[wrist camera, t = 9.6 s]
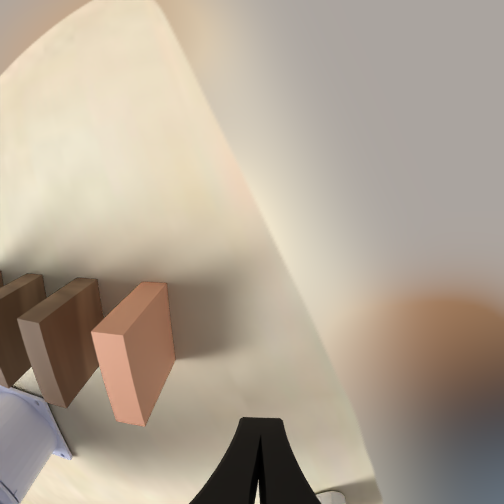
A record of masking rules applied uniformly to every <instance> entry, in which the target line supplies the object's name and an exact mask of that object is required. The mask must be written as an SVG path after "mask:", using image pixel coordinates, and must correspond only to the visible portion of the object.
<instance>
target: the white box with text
mask: <svg viewBox="0 0 504 504" xmlns="http://www.w3.org/2000/svg"><path fill="white" fill-rule="evenodd" d="M316 496H317V498H318V499H319V501H320V502H321V504H346V501H345V497H344V495H343V494H341V493H339V492H336V491H330V492H324V493H320V494H316Z"/></svg>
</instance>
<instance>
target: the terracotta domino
mask: <svg viewBox="0 0 504 504" xmlns="http://www.w3.org/2000/svg"><path fill="white" fill-rule="evenodd" d="M91 334H92V338H93V343H94V347H95V351H96V355H97V359H98V362H99V366H100V370H101V373H102V377H103V380H104V384H105V387H106V390H107V394H108V397H109V400H110V403H111V406H112V409H113V412H114V415H115V418H116V421H118V422H123V423H128V424H133V425H139V426H146V423H147V421H148V419H149V417H150V415H151V412H152V410H153V408H154V406H155V403H156V401H157V399H158V397H159V395H160V393H161V390H162V388H163V386H164V384H165V382H166V379H167V377H168V375H169V373H170V371H171V369H172V366H173V364H174V362H175V360H176V359H175V352H174V344H173V336H172V328H171V320H170V311H169V301H168V291H167V283H156V282H141V283H140V284H139V285H138V286H137V287H136V288H135V289H134V290H133V291H132V292H131V293H130V294H129V295H128V296H126V297H125V298H124V299H123V300H122V301H121V302H120V303H119V304H118V305H117V306H116V307H115V308H114V309H113V310H112V311H111V312H110V313H109V314H108V315H107V316H106V317H105V318H104V319H103V320H102V321H101V322H100V323H99V324H98V325H97V326H96V327H95V328H94V329H93V330H92V331H91Z"/></svg>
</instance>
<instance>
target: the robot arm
mask: <svg viewBox="0 0 504 504" xmlns="http://www.w3.org/2000/svg"><path fill="white" fill-rule="evenodd" d="M51 454H55V455H57V456H60V457H63V458H65V459H68V460H71V459H72V454H71V453H70V451H69V449H68V447H67V445H66V443H65V441H64V439H63V437H62V435H61V433H60V431H59V428H58V426H57V424H56V422H55V420H54V418H53V415H52V413H51V411H50V409H49V406H48V404H47V402H45V400H44V399H43V398H40V397H37V396H34V395H31V394H28V393H26V392H23V391H20V390H17V389H15V388H12V387H10V388H9V389H8V388H6V387H3V386H1V385H0V504H20V503H21V501H22V500H23V498H24V497H25V495H26V493H27V492H28V490H29V489H30V487H31V485H32V484H33V482H34V481H35V479H36V478H37V476H38V474H39V473H40V471H41V470H42V468H43V467H44V465H45V464H46V462H47V461H48V459H49V457H50V456H51ZM258 479H259V495H260V504H321V502H320V501H319V499H318V498H317V496H316V495H315V493H314V492H313V490H312V489H311V487H310V485H309V484H308V482H307V480H306V478H305V477H304V475H303V473H302V471H301V469H300V467H299V465H298V463H297V461H296V458H295V456H294V454H293V452H292V449H291V447H290V444H289V441H288V439H287V436H286V432H285V429H284V424H283V420H281V419H280V418H252V417H243V418H241V419H240V420H239V424H238V427H237V430H236V432H235V435H234V437H233V439H232V441H231V443H230V446H229V448H228V449H227V451H226V453H225V455H224V456H223V458H222V460H221V462H220V463H219V465H218V467H217V468H216V470H215V471H214V472H213V474H212V475H211V477H210V478H209V480H208V481H207V483H206V484H205V485H204V487H203V488H202V489H201V490H200V492H199V493H198V494H197V495H196V496H195V498H194V499H193V500H192V501H191V502H190V503H189V504H254V503H255V497H256V491H257V485H258Z"/></svg>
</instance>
